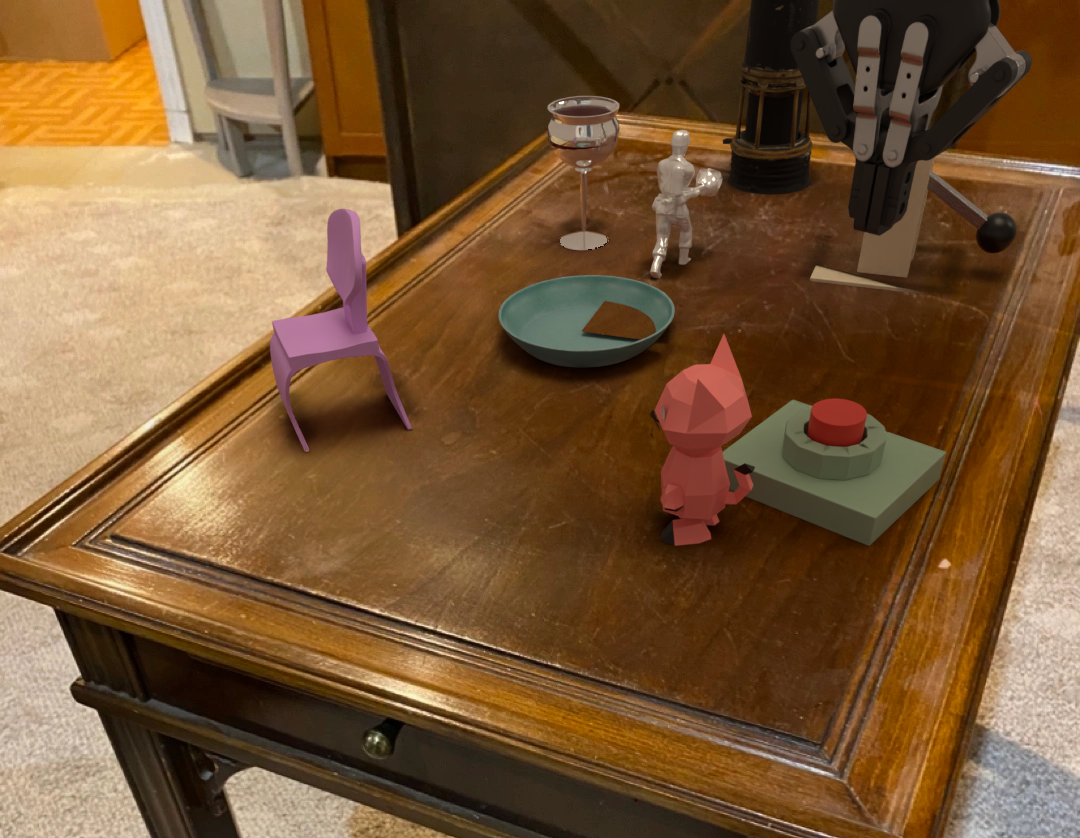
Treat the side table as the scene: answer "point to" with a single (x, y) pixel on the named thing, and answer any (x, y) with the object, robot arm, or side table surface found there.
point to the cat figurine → (701, 445)
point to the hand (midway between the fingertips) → (873, 228)
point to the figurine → (678, 199)
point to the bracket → (887, 244)
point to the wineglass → (583, 149)
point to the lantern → (773, 102)
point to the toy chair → (332, 320)
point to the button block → (834, 473)
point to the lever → (977, 217)
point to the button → (837, 422)
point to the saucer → (580, 319)
